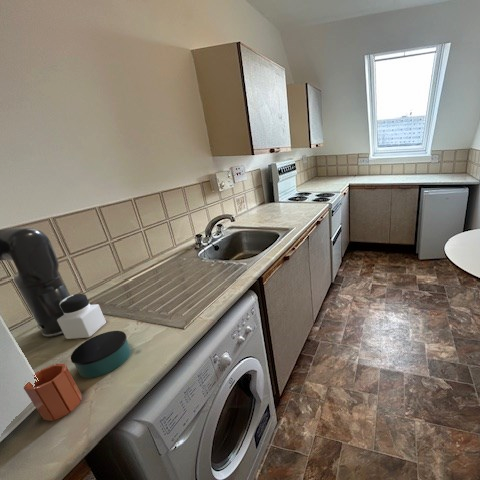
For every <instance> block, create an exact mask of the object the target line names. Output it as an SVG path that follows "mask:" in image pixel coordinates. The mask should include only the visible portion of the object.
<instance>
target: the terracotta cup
mask: <svg viewBox="0 0 480 480" xmlns="http://www.w3.org/2000/svg"><path fill="white" fill-rule="evenodd" d="M34 374H35V375H36V377H37V378H38V380H39V381H38V380H37V378H36V377H34V379H36V380H37V382H36V381H35V383H34V384H35V386H34V387H33V385H32V384H31V383H30V382H28V383H27V384H26V385H25V384H24V385H25V386H24V385H23V390H24V391H25V393H26V394H27V396H28V398H29V399H30V401H31V403H32V404H33V406H34V408H36V411H37V412H38V413H39V415H40V416H41V418H42V419H43V421H51V422H52V421H53V422H54V421H57V420H59V419H60V418H63V417H65V416H67V415H69V414H70V413H72V412H73V411H74V410H75V409H76V408H77V407H78V406H79V405H80V404H81V402H82V399H83V398H82V395H83V394H82V392H81V391H80V389H79V386H78V385H77V383H76V381H75V379H74V378H73V376H72V374H71V372H70V370H69V367H68V365H67V364H65V363H55V364H52V365H50V366H47V367H44V368H42V369H40V370H39V371H37V372H35V373H34ZM34 374H33V375H34ZM35 375H34V376H35Z"/></svg>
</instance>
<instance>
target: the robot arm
mask: <svg viewBox="0 0 480 480" xmlns="http://www.w3.org/2000/svg"><path fill="white" fill-rule="evenodd" d="M1 261H2V262H3V261H12V262H13V263H14V266H15V269H16V271H17V274H16V275H14V277H13V282H14V284H15V286H16V287H17V290H18V291H19V293H20V296H21V297H22V299H23V300H24V302H25V304H26V306H27V308H28V310H29V311H30V313H31V315H32V318H34V321H35V322H36V327H37V328H38V329H40V331H41V335H42V337H45V338H52V337H57V336H61V335H64V333H63V331H62V329H61V327H60V326H59V324H58V322H57V319H59V318H60V317H61V316H63V315H64V313H63V311H62V309H61V307H60V305H59V304H60V302H61V301H62V300H63V299H65V298H67V297H69V296H71V294H70V292H69V289H68V288H67V285H66V283H65V281H64V279H63V276H62V274H61V272H60V270H59V269H60V263H59V260H58V256H57V254H56V252H55V249H54V247H53V245H52V241H51V240H50V238H49V237H48V236H47V234H45V233H44V232H43V231H42V230H39V229H37V228H31V227H8V228H3V229H0V262H1Z"/></svg>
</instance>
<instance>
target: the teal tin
mask: <svg viewBox="0 0 480 480" xmlns="http://www.w3.org/2000/svg"><path fill="white" fill-rule="evenodd" d="M127 338H128V337H127V334H126V333H125V332H124V331H122V330H110V331H107V332H103V333H100V334H97V335H95V336H92V337H90V338H89V339H87V340H86V341H83V342H82V343H81V344H80V345H78V346H77V347H76V348H75V349H74V350H73V351H72V353H71V354H70V361H71V363H72V364H74V367H75V368H76V370H77V372H78V374H79V376H80V377H82V378H84V379H93V378H98V377H102V376H104V375H106V374H108V373H111V372H112V371H115V370H116V369H117V368H119V367H120V366H121V365H123V364H124V363H125V362H126V361H127V360H128V359H129V357H130V356H131V353H132V349H131V346H130V344H129V341H128V339H127Z"/></svg>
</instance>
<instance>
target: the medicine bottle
mask: <svg viewBox="0 0 480 480" xmlns="http://www.w3.org/2000/svg"><path fill="white" fill-rule="evenodd" d="M59 305H60V307H61V309H62V311H63V313H64V315H63V316H61V317H60V318H59V319H57V322H58V324H59V326H60V327H61V329H62V331H63V336H64V337H65V339H66V340H72V339H86V338H92V337H93V335H95V333H96V332H97V331H99V329H101V328H102V327H103V326H104V325H105V324H107V321H106V318H105V316H104V314H103V312H102V309H101V306H100V304H98V303H97V304H90V302H89V298H88V297H87V295H86V294H84V293H77V294H72V295H70V296H69V297H67V298H65V299H63V300H62V301H61V302H60V304H59Z"/></svg>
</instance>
